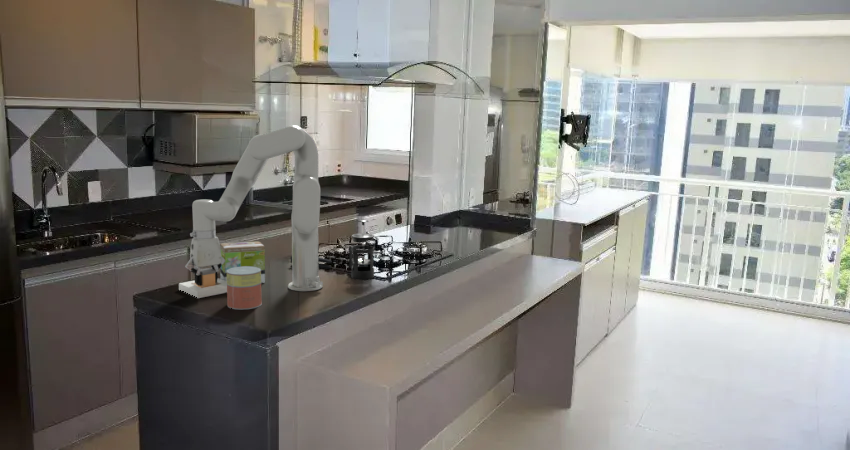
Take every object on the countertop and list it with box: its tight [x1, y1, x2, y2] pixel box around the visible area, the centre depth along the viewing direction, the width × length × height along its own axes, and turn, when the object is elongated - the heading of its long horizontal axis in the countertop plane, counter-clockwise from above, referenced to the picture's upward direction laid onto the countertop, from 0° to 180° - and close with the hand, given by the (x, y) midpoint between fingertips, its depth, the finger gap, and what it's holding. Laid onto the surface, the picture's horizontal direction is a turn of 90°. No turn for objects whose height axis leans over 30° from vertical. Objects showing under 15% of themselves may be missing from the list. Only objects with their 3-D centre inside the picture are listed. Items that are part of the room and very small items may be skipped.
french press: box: [348, 219, 375, 281], centre depth 257 cm, size 12×9×23 cm
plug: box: [198, 267, 216, 288], centre depth 234 cm, size 5×5×7 cm
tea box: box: [219, 241, 266, 284], centre depth 246 cm, size 15×10×15 cm, turn 117°
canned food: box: [226, 266, 263, 311], centre depth 218 cm, size 11×11×12 cm
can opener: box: [290, 255, 332, 270], centre depth 272 cm, size 18×7×6 cm, turn 81°
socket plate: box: [178, 278, 227, 299], centre depth 234 cm, size 14×14×3 cm
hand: (206, 283), depth 234 cm, fingers open, 5 cm apart
